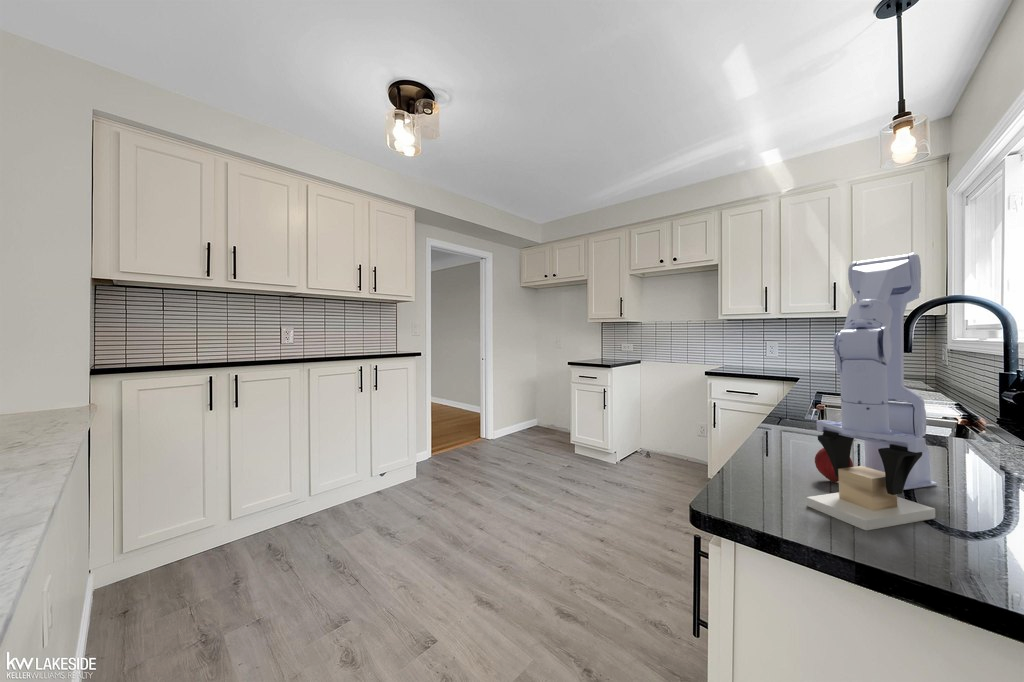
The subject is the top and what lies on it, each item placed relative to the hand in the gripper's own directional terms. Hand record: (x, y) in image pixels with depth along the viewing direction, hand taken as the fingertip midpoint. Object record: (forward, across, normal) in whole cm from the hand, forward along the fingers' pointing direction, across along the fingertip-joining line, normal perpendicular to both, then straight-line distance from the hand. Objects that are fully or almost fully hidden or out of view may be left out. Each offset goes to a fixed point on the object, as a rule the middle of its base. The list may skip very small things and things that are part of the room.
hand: (867, 484), depth 63 cm
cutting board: (+4, 0, 0) cm, 4 cm away
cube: (+3, 0, 0) cm, 3 cm away
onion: (+5, -12, +8) cm, 15 cm away
